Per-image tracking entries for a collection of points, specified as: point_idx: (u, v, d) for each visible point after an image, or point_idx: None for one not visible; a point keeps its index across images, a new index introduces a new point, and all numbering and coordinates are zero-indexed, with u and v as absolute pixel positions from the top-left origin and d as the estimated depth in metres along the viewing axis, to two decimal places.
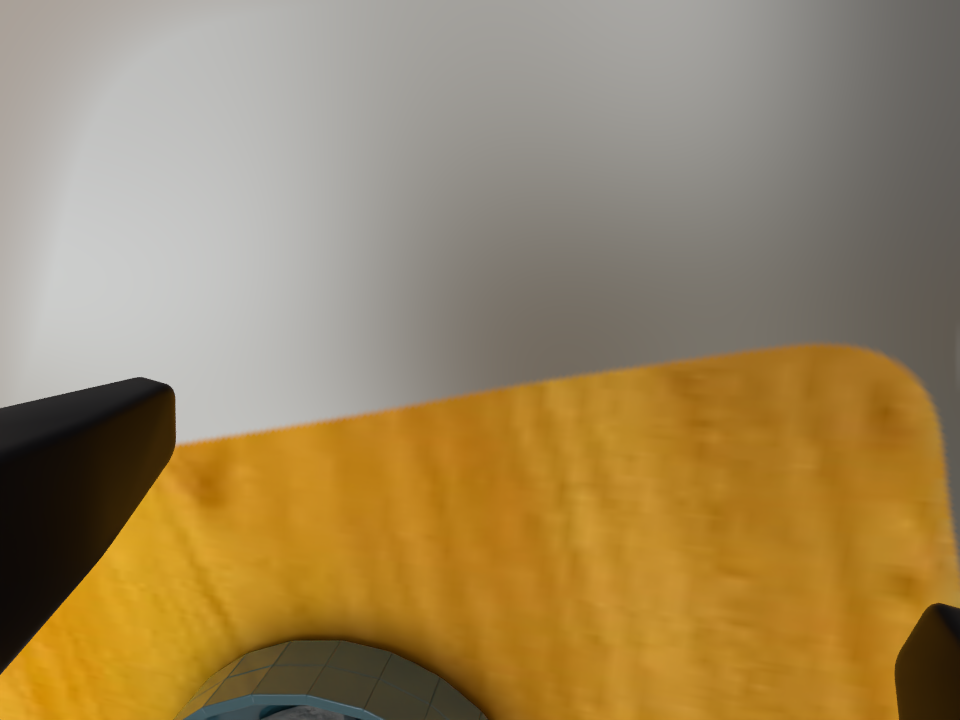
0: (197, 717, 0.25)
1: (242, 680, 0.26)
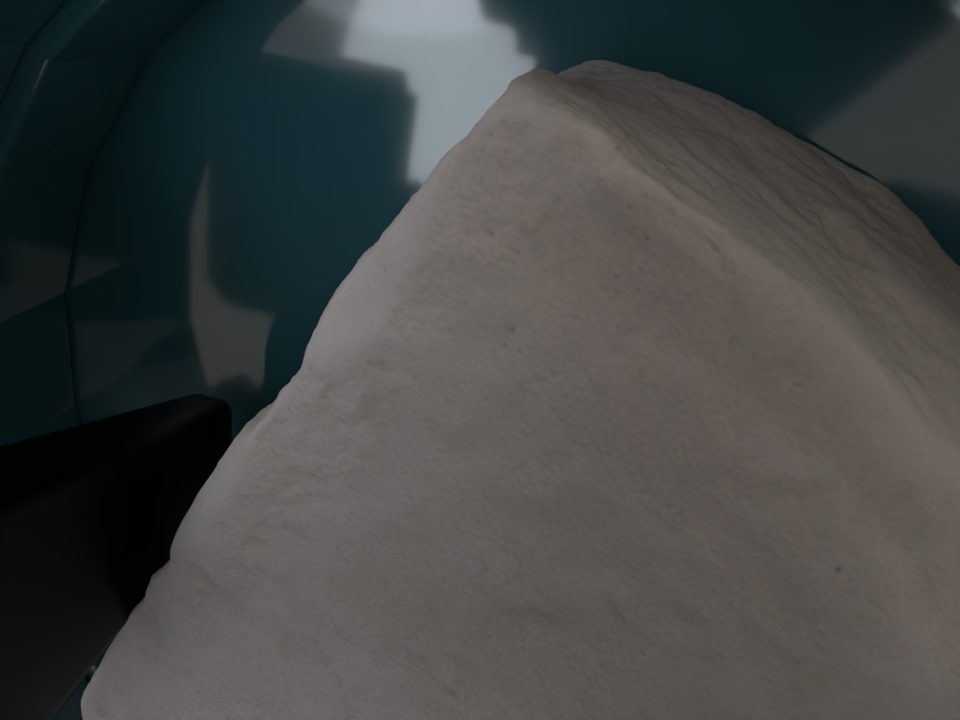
0: None
1: None
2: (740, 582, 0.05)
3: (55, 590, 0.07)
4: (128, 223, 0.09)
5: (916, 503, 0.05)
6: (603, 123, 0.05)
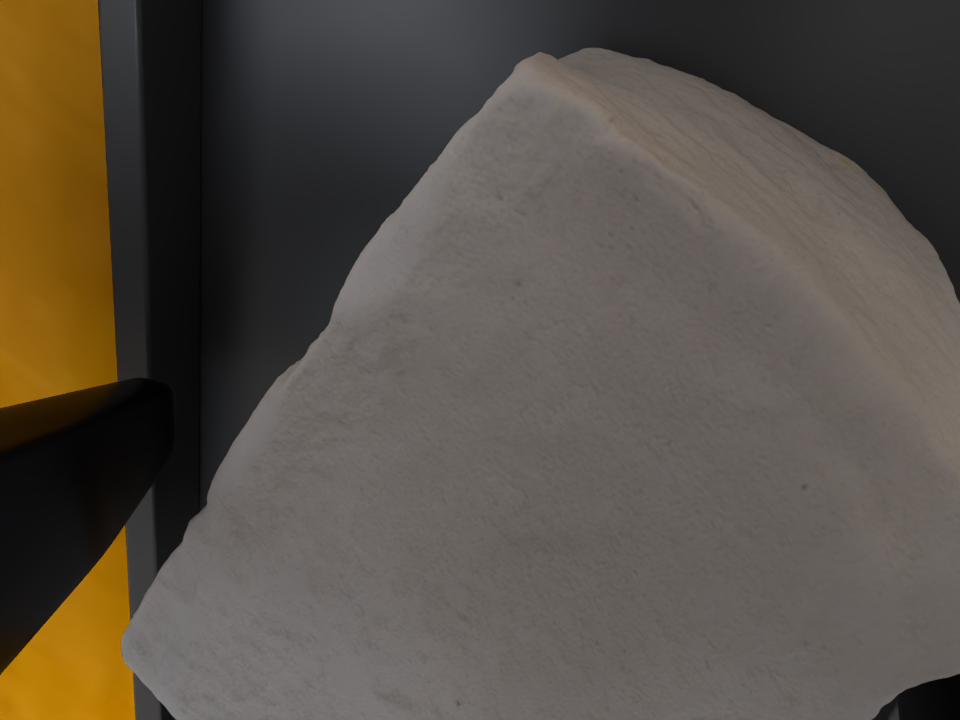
0: None
1: None
2: (719, 504, 0.06)
3: None
4: None
5: (870, 426, 0.06)
6: (598, 99, 0.06)
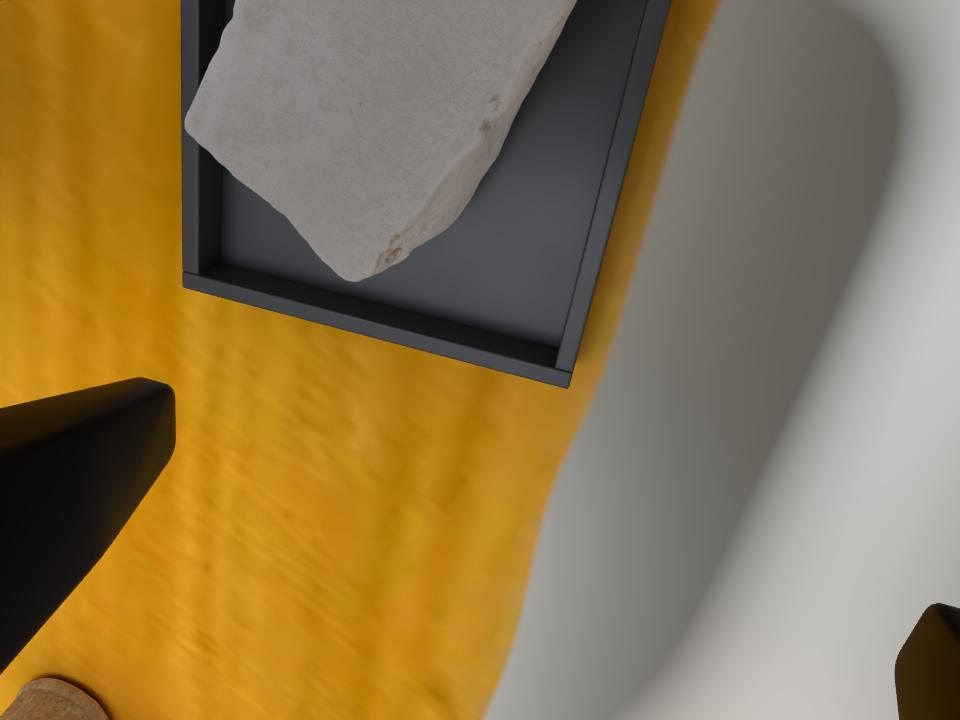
0: None
1: None
2: None
3: None
4: None
5: None
6: None
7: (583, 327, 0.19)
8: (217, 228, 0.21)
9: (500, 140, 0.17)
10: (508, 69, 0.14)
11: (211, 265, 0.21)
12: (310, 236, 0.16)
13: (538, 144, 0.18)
